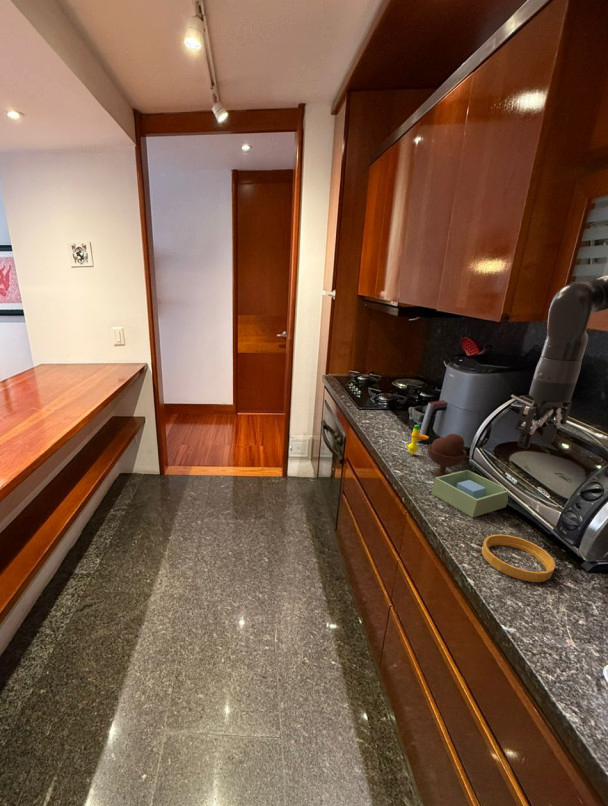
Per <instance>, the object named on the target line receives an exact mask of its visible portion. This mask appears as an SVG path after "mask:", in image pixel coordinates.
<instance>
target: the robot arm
mask: <svg viewBox="0 0 608 806" xmlns="http://www.w3.org/2000/svg"><path fill="white" fill-rule="evenodd" d="M606 310H608V274H606V275H603V276H600V277H596V278H593V279H589V280H586V281H582V282H581V281H579V282H571V283H569V284H567V285H565V286H563V287H561V288H560V289H558V290H557V292H555V294H554V295H553V297H552V300H551V302H550V305H549V309H548V315H547V324H546V325H547V326H546V328H547V329H546V337H545V339H544V343H543V346H542V350H541V353H540V357H539V359H538V362H537V363H536V367H535V370H534V374H533V377H532V380H531V384H530V388H529V391H528V396H529V397H530V398H532V400H533V401H532V403H531V404H530V405H526V404H522V405H521V407H520V410H519V413H518V416H517V419H516V423H515V426H514V430H515V431H518V432H520V434H519V438H518V442H517V446H518V448H522V449H524V450H528V449H529V448H530V446H531V444H532V443H531V442H532V439H533V436H534V433H535V432H536V430H537V429H538V428H541V427H542V426H543V425H544V423H545V426H544V429H543V432H542V436H541V441H542V442H544V443H548V444H552V443H554V441H555V437H556V434H557V430H558V429H560V428H561V426H562V425H566V423H567V421H568V418H569V414H570V411H571V407H572V403H573V401H572V397H573V394H574V391H575V388H576V385H577V381H578V378H579V376H580V372H581V367H582V361H583V358H584V355H585V351H586V348H587V345H588V342H589V341H588V340H589V335H588V332H587V330H588V325H589V322H590V318H591V315H593V314H597V313H600V312H603V311H606Z"/></svg>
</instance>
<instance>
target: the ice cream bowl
mask: <svg viewBox="0 0 608 806" xmlns="http://www.w3.org/2000/svg"><path fill="white" fill-rule="evenodd" d="M464 447H465V441H464V438H463V437H462V436H461V435H460V434H457V433H450V434H447V435H445V437H444V436H441V437H439V438H436V439H434V440H433V441H432V443H429V444H428V446H427V455H428V458H430V460H432V461H433V462H434V463H435V464H436V465H438V466H439V470H434V471H433V474H432V475H434V476H435V477H440V476H444V475H448V474H449V473H447V471H446V469H447V468H449V467H453V466H458V465H460V464H462V463H463V462H464V461H465V460H466V457H467V453H468V452H467V450H465V449H464Z"/></svg>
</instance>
